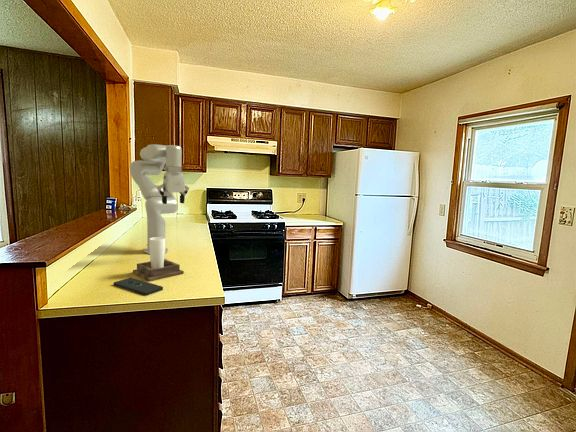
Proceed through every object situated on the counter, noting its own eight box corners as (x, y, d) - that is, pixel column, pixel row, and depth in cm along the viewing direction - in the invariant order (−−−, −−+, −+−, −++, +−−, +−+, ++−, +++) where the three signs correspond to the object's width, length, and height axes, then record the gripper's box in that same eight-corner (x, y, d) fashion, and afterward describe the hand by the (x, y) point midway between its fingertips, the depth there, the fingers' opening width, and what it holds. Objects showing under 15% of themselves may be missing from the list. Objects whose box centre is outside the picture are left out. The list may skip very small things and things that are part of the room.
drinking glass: (159, 273, 137) (159, 240, 135) (146, 271, 138) (145, 239, 136) (168, 269, 143) (168, 237, 141) (155, 267, 145) (155, 236, 143)
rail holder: (132, 272, 140) (132, 263, 139) (165, 266, 152) (165, 257, 152) (149, 281, 130) (149, 271, 129) (183, 273, 142) (183, 264, 141)
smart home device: (131, 276, 131) (164, 286, 122) (131, 280, 131) (164, 290, 122) (112, 282, 123) (145, 292, 114) (112, 286, 124) (145, 297, 115)
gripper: (161, 169, 148) (161, 204, 150) (192, 171, 161) (192, 203, 163) (153, 169, 153) (153, 203, 155) (184, 170, 166) (184, 202, 168)
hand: (173, 203), depth 159 cm, fingers open, 9 cm apart
